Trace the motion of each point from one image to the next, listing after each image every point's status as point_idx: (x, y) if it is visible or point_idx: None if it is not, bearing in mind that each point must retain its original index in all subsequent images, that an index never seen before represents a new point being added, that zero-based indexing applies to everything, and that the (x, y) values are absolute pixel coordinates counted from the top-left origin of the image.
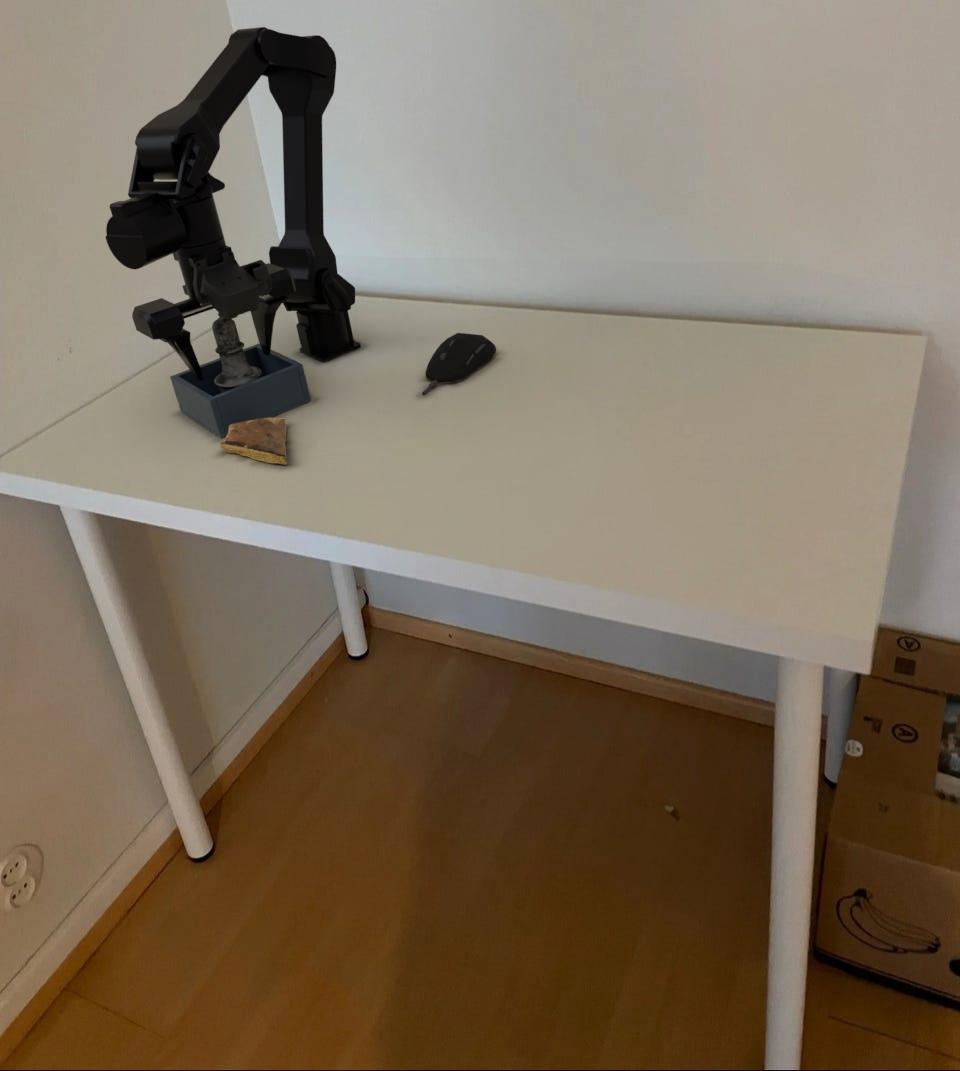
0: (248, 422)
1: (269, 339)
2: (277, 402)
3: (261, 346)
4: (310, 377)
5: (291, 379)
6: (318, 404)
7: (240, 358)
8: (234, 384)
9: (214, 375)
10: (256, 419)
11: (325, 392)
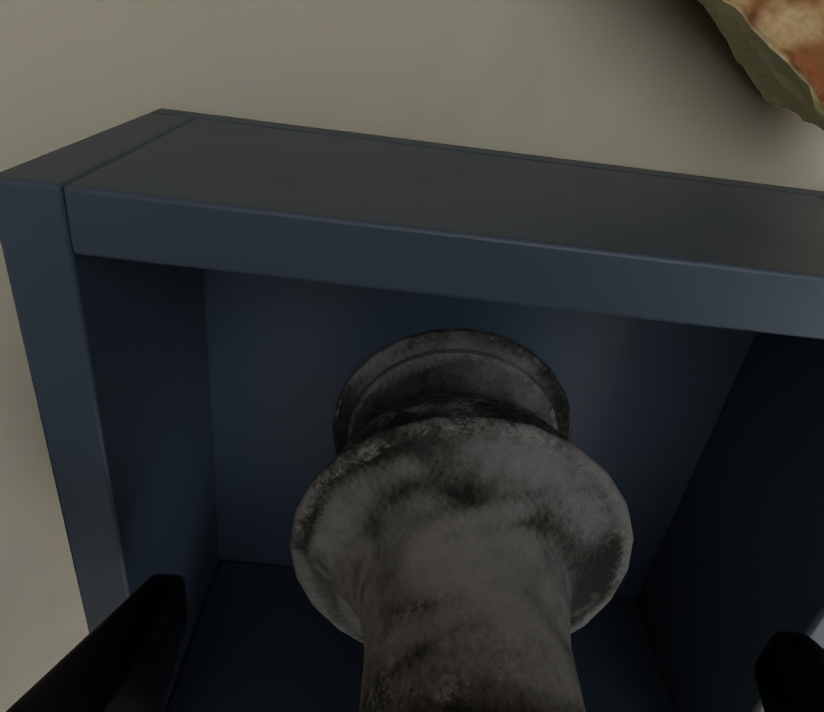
0: (812, 14)
1: (62, 688)
2: (407, 158)
3: (165, 682)
4: (15, 401)
5: (204, 171)
6: (147, 3)
7: (459, 637)
8: (583, 471)
9: None
10: (738, 1)
11: (21, 137)
